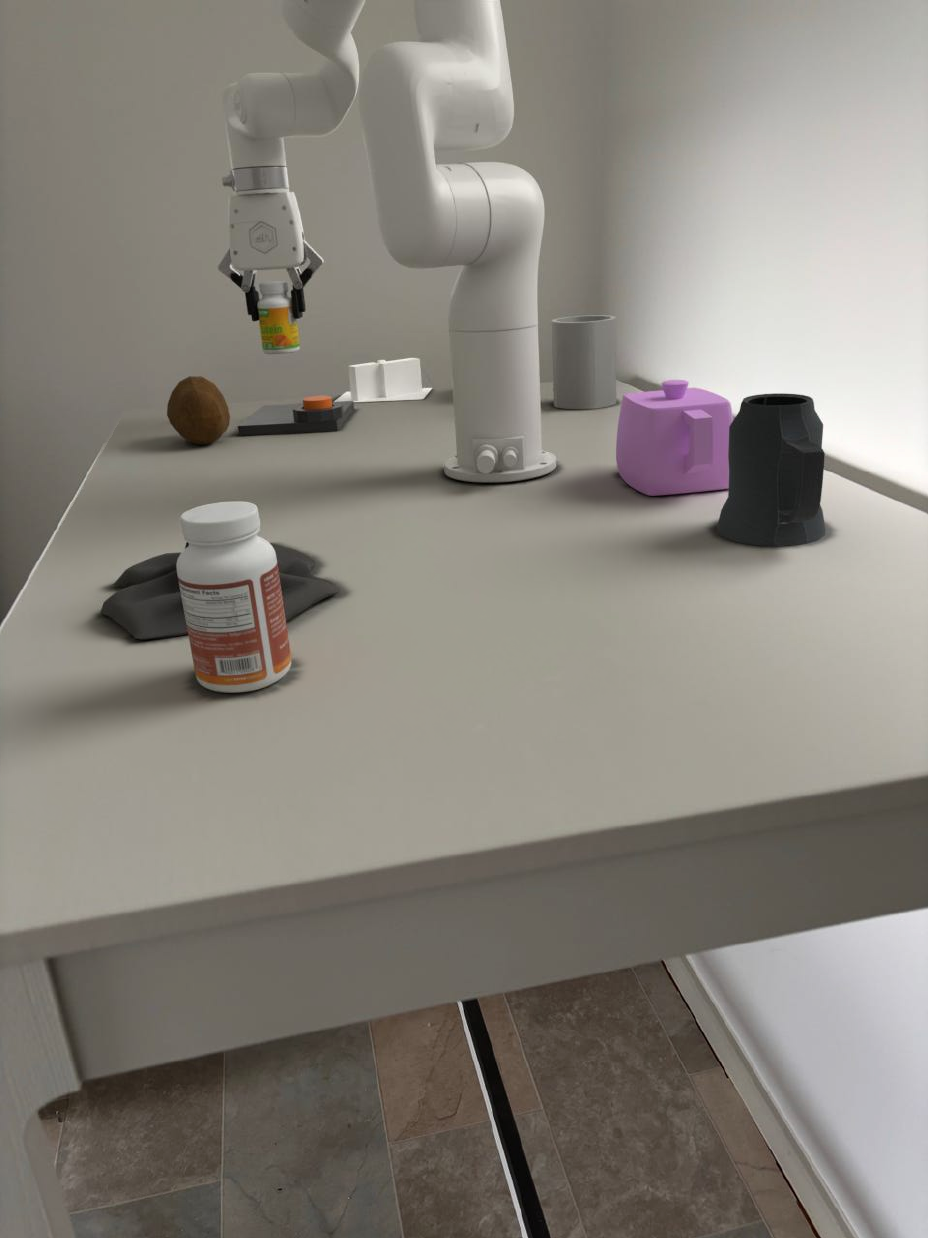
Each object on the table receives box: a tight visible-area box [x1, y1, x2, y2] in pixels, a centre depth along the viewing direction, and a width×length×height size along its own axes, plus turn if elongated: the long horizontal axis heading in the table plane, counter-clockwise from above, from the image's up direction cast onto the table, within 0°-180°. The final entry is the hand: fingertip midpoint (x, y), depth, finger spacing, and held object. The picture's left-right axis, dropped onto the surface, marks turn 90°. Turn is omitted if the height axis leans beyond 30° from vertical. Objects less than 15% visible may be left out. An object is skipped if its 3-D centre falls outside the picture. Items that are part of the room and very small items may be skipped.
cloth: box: [100, 541, 340, 641], centre depth 81 cm, size 22×19×6 cm
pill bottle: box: [176, 500, 292, 694], centre depth 64 cm, size 6×6×11 cm
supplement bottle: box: [257, 280, 301, 355], centre depth 147 cm, size 5×5×10 cm
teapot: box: [615, 379, 734, 497], centre depth 104 cm, size 18×10×10 cm, turn 8°
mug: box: [715, 392, 826, 547], centre depth 85 cm, size 12×9×11 cm
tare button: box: [302, 395, 333, 410], centre depth 144 cm, size 4×4×2 cm
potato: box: [166, 375, 231, 445], centre depth 139 cm, size 8×12×9 cm
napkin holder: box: [333, 357, 433, 403], centre depth 167 cm, size 15×11×6 cm
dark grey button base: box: [237, 401, 355, 437], centre depth 149 cm, size 16×14×3 cm
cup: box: [550, 314, 617, 410], centre depth 148 cm, size 9×9×12 cm
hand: (277, 317), depth 147 cm, fingers closed on supplement bottle, 5 cm apart
